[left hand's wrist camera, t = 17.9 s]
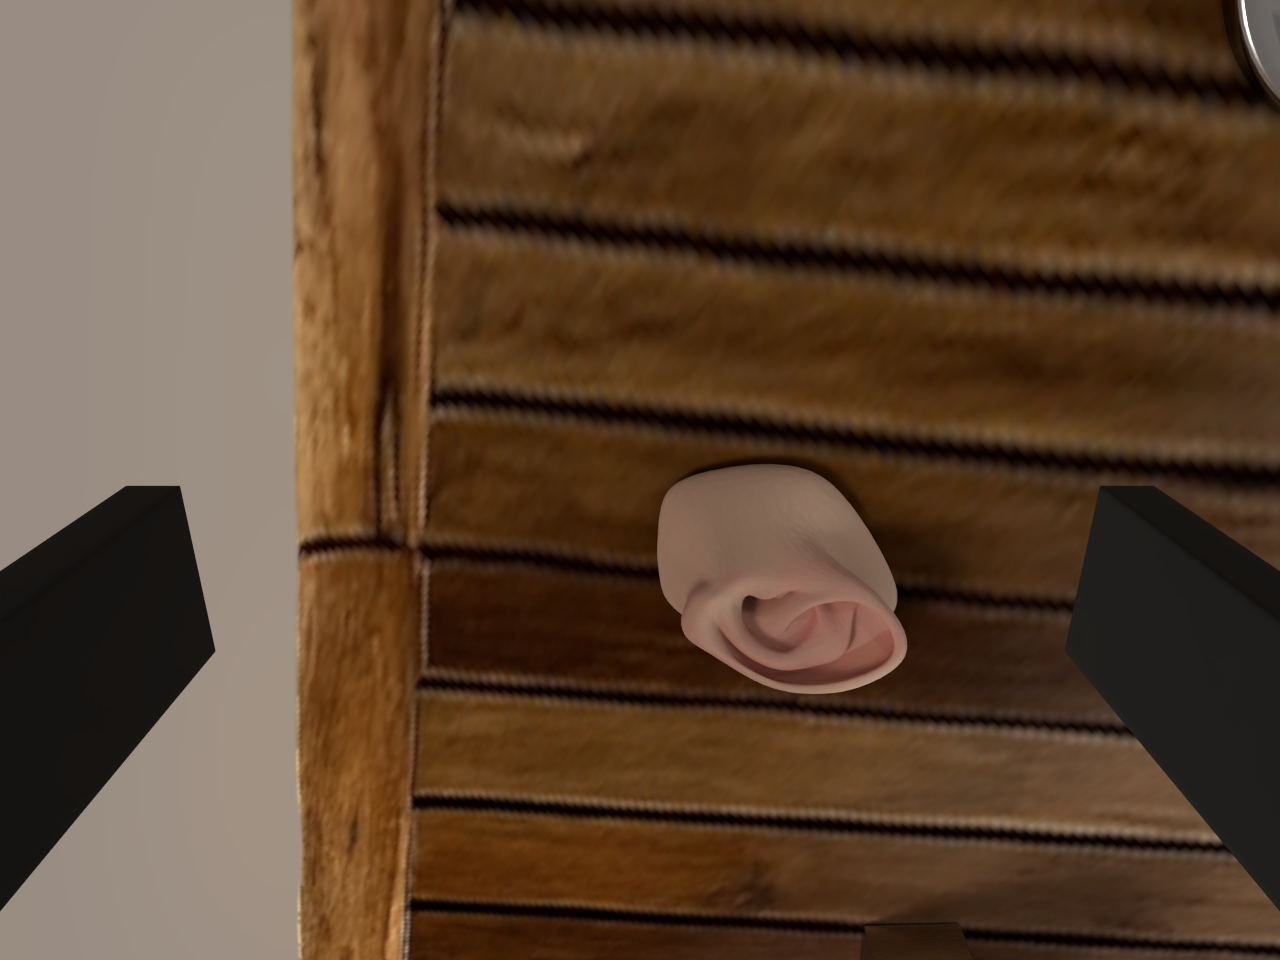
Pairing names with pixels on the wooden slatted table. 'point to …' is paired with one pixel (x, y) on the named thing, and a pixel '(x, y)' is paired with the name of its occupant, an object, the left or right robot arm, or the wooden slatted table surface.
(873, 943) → the block
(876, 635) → the anatomical model
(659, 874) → the wooden slatted table surface
